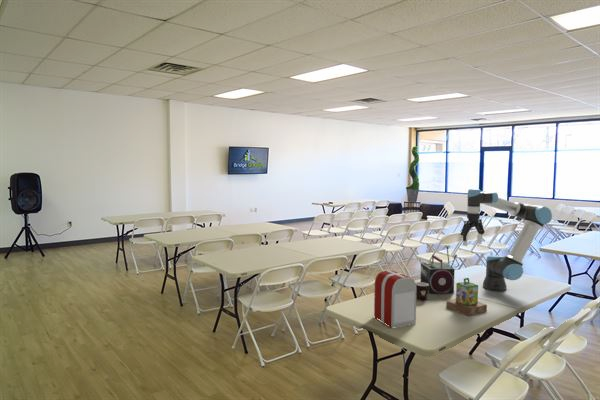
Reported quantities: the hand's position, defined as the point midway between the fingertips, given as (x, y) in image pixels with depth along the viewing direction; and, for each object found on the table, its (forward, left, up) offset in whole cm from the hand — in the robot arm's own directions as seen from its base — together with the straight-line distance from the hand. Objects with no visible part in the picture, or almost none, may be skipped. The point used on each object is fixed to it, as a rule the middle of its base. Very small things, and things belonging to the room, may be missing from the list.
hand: (472, 244), depth 259 cm
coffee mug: (+34, -12, -35) cm, 50 cm away
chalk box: (+22, +15, -31) cm, 40 cm away
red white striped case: (+72, +8, -35) cm, 80 cm away
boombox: (+9, -20, -35) cm, 41 cm away
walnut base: (+22, +15, -35) cm, 44 cm away
